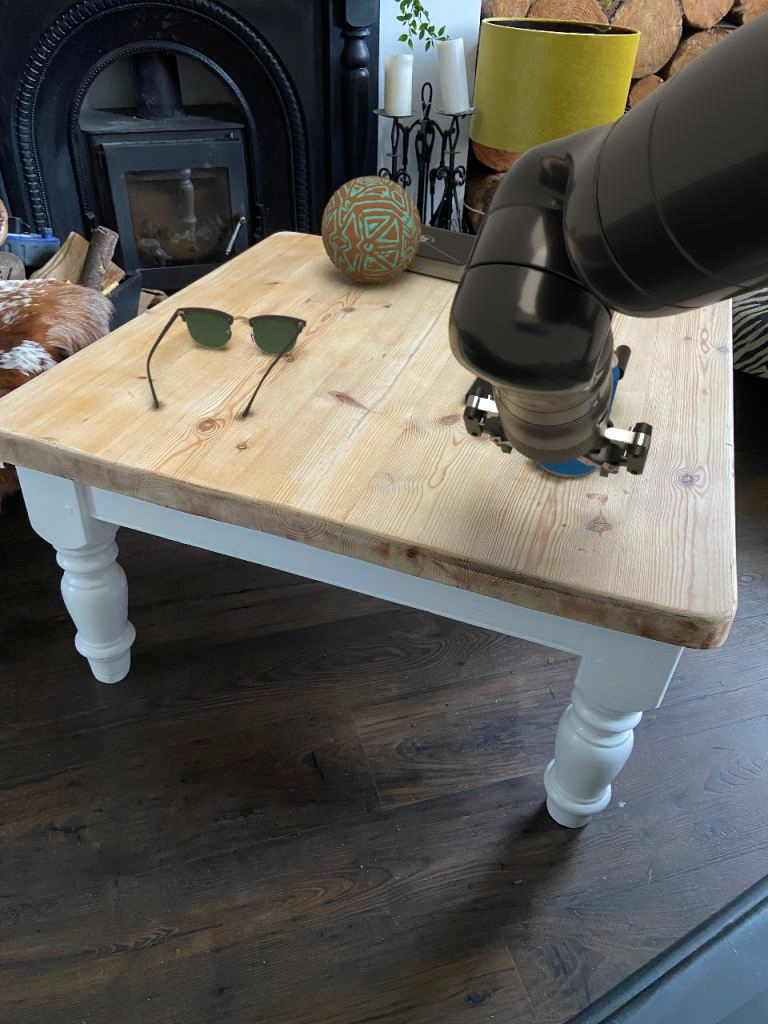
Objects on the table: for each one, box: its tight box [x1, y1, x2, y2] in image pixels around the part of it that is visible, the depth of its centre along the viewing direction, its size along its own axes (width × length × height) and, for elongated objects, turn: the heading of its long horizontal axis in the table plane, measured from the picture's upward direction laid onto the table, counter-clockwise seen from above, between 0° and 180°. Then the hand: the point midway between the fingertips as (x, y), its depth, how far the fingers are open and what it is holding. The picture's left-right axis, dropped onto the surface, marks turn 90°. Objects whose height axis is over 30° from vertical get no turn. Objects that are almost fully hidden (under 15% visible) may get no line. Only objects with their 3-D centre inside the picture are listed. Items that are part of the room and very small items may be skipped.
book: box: [404, 223, 477, 284], centre depth 124 cm, size 22×15×3 cm
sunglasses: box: [146, 306, 307, 417], centre depth 87 cm, size 16×17×5 cm
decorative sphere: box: [321, 175, 422, 284], centre depth 111 cm, size 15×15×15 cm
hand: (557, 453), depth 65 cm, fingers open, 8 cm apart
